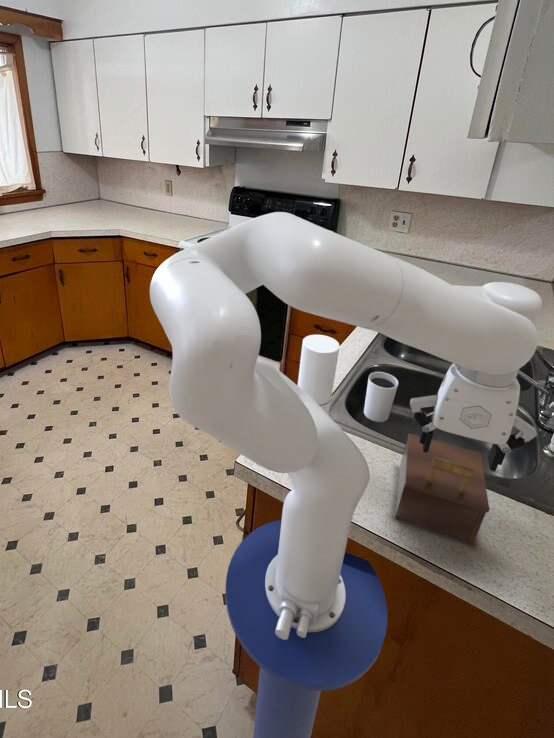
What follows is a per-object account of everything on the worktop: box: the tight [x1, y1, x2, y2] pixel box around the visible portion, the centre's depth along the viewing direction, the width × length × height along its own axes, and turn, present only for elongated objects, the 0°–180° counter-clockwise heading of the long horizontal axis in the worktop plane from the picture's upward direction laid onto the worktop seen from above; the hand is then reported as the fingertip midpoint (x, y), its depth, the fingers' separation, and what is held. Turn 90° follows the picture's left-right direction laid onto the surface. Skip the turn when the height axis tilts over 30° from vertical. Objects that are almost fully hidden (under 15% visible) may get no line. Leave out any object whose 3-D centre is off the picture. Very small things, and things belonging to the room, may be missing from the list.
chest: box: [394, 437, 487, 545], centre depth 78 cm, size 13×13×9 cm
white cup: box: [363, 371, 399, 423], centre depth 101 cm, size 7×7×10 cm
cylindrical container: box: [297, 334, 340, 416], centre depth 89 cm, size 7×7×25 cm
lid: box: [405, 432, 490, 513], centre depth 74 cm, size 13×13×6 cm
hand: (457, 455), depth 69 cm, fingers open, 9 cm apart
